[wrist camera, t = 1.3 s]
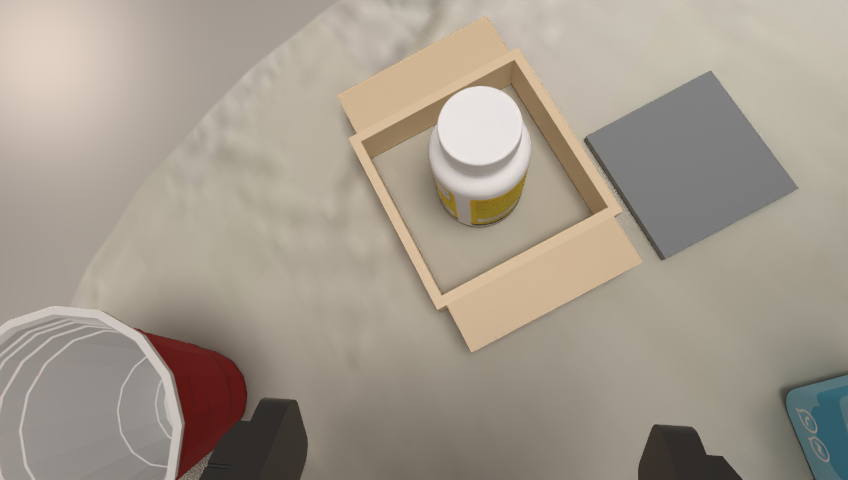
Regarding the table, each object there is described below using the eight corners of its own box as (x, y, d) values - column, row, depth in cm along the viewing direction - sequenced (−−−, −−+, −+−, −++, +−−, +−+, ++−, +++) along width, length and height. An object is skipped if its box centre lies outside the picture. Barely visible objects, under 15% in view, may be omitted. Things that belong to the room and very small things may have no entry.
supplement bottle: (533, 166, 32) (557, 94, 23) (501, 240, 31) (511, 199, 22) (458, 137, 33) (449, 56, 24) (425, 209, 32) (402, 156, 23)
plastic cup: (162, 524, 30) (-36, 643, 19) (105, 365, 33) (-104, 382, 21) (316, 439, 30) (214, 505, 19) (247, 286, 33) (118, 259, 21)
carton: (493, 38, 34) (494, 10, 31) (635, 264, 30) (652, 256, 27) (341, 119, 34) (328, 99, 31) (463, 355, 30) (462, 357, 27)
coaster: (706, 75, 32) (710, 70, 31) (792, 191, 30) (798, 188, 29) (584, 140, 32) (586, 136, 31) (661, 260, 30) (665, 258, 30)
